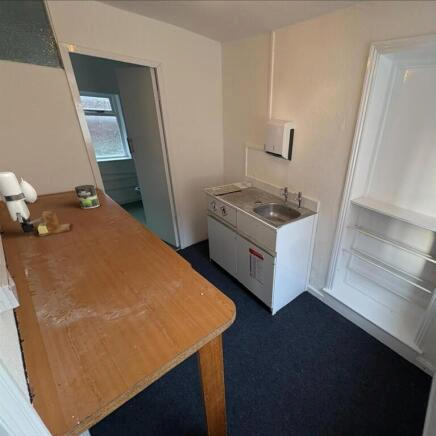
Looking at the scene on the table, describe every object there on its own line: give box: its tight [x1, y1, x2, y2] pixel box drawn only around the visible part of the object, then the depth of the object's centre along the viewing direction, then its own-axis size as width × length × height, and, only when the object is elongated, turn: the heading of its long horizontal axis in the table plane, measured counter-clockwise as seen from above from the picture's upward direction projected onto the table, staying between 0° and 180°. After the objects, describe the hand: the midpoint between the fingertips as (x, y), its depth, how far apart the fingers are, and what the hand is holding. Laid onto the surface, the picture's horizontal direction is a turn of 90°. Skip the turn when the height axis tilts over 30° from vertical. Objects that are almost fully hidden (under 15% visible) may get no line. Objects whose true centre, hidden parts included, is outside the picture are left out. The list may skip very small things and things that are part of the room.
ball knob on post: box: [29, 212, 52, 225], centre depth 122 cm, size 13×3×3 cm, turn 130°
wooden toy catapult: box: [37, 209, 71, 237], centre depth 126 cm, size 12×9×11 cm
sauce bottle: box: [19, 177, 38, 204], centre depth 161 cm, size 8×8×18 cm
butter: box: [37, 225, 48, 234], centre depth 123 cm, size 3×4×3 cm
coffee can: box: [74, 184, 100, 210], centre depth 160 cm, size 10×10×14 cm
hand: (29, 230), depth 122 cm, fingers closed on ball knob on post, 3 cm apart
